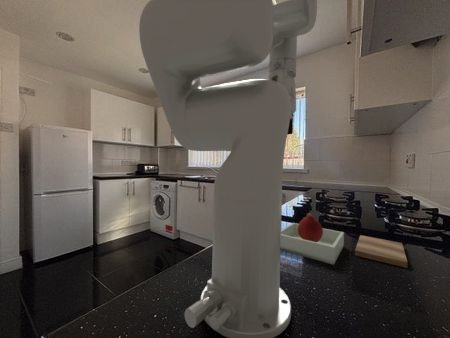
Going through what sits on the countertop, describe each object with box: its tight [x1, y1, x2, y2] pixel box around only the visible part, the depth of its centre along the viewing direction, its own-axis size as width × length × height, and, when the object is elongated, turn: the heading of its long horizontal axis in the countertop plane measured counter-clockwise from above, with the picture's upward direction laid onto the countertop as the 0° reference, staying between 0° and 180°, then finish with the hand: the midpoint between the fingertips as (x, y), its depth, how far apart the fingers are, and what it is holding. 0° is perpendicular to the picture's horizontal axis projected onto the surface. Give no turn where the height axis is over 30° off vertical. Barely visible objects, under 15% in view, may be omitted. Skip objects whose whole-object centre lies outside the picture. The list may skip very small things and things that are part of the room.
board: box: [354, 234, 408, 269], centre depth 49 cm, size 14×9×1 cm, turn 142°
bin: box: [280, 222, 345, 266], centre depth 50 cm, size 13×13×4 cm
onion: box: [298, 212, 324, 242], centre depth 50 cm, size 6×6×8 cm
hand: (280, 131), depth 57 cm, fingers open, 9 cm apart
